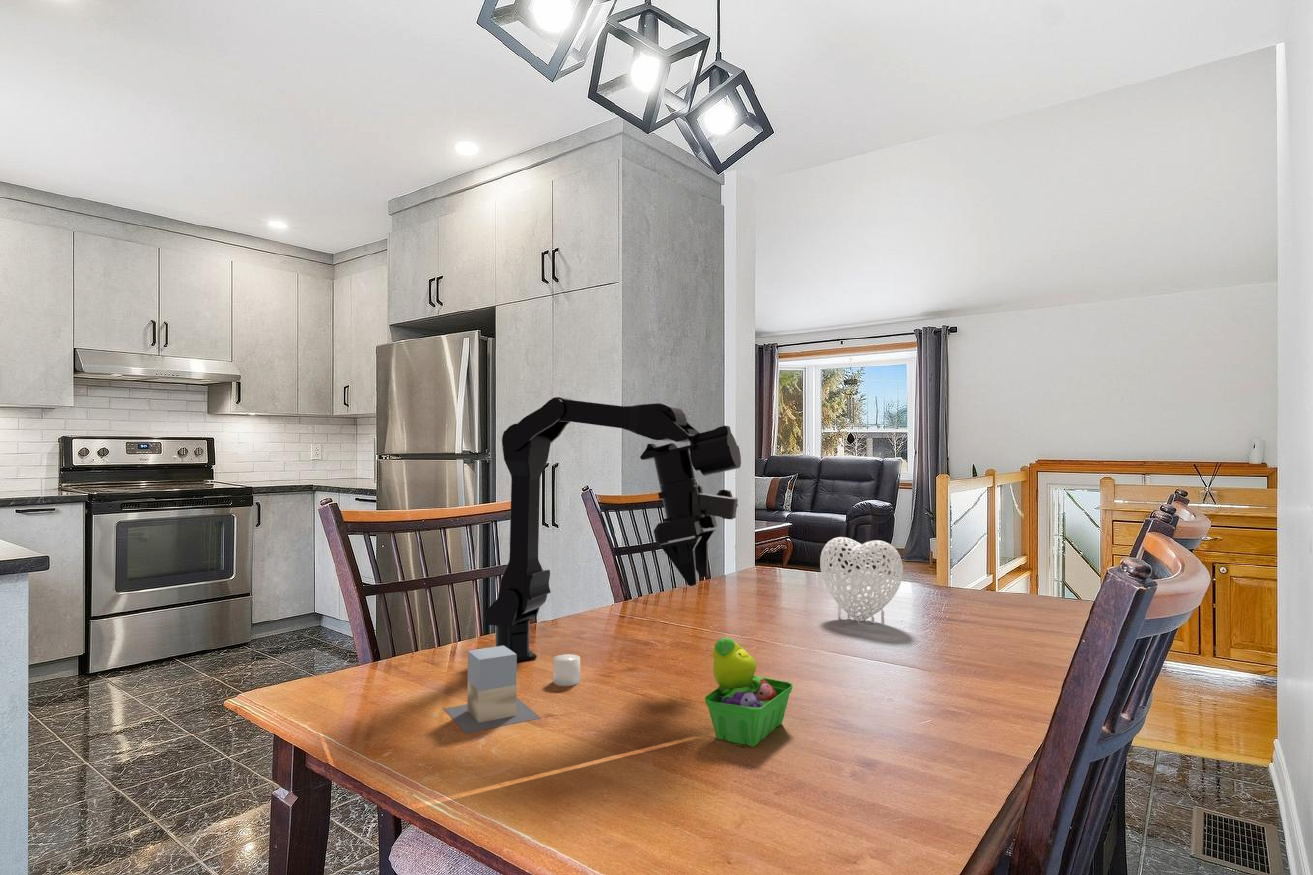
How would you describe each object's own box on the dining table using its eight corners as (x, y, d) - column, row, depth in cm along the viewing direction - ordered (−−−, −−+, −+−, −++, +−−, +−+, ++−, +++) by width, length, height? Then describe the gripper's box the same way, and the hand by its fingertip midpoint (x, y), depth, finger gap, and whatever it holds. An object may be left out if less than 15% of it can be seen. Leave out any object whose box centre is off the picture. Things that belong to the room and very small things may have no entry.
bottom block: (467, 710, 97) (467, 680, 97) (503, 704, 99) (503, 674, 99) (479, 722, 93) (479, 691, 93) (516, 715, 95) (516, 684, 95)
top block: (467, 680, 97) (467, 650, 97) (503, 674, 99) (503, 645, 100) (479, 691, 93) (479, 659, 93) (516, 684, 95) (516, 654, 95)
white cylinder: (549, 683, 110) (549, 656, 110) (573, 679, 112) (573, 653, 112) (559, 690, 106) (560, 663, 107) (584, 686, 109) (584, 659, 109)
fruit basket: (759, 753, 84) (759, 656, 85) (692, 737, 89) (693, 645, 89) (795, 722, 94) (795, 635, 94) (733, 709, 99) (733, 626, 99)
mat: (443, 711, 98) (443, 708, 98) (514, 698, 103) (514, 695, 103) (465, 736, 89) (465, 733, 89) (541, 721, 94) (541, 718, 94)
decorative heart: (913, 624, 147) (913, 540, 148) (887, 633, 140) (887, 545, 140) (836, 610, 160) (836, 533, 161) (808, 618, 153) (808, 537, 153)
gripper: (717, 471, 103) (741, 580, 101) (735, 471, 121) (756, 564, 119) (643, 487, 105) (665, 594, 104) (672, 485, 123) (691, 576, 122)
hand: (698, 581), depth 112 cm, fingers open, 9 cm apart
